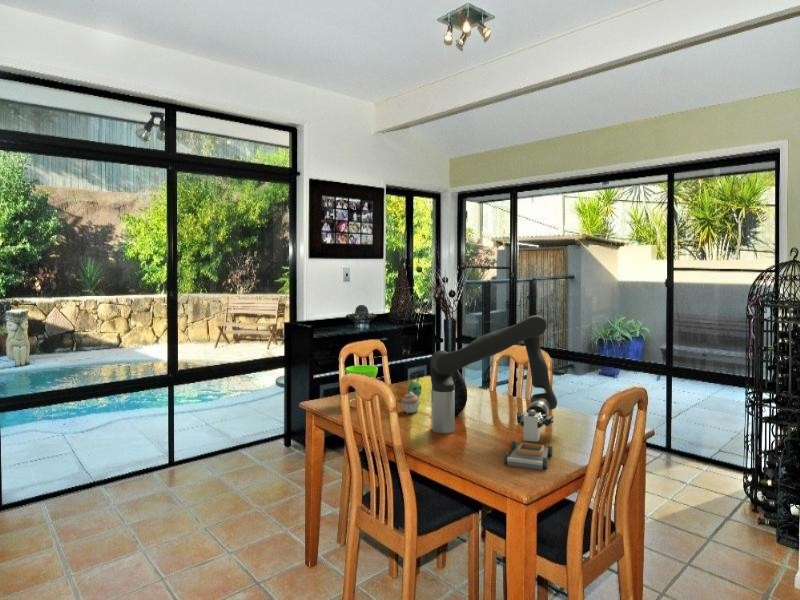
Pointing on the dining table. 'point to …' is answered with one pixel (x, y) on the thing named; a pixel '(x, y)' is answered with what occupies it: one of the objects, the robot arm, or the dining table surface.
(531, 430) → the block
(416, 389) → the alien toy
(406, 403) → the cupcake
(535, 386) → the robot arm
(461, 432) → the dining table surface
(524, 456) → the chassis
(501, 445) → the dining table surface
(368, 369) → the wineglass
